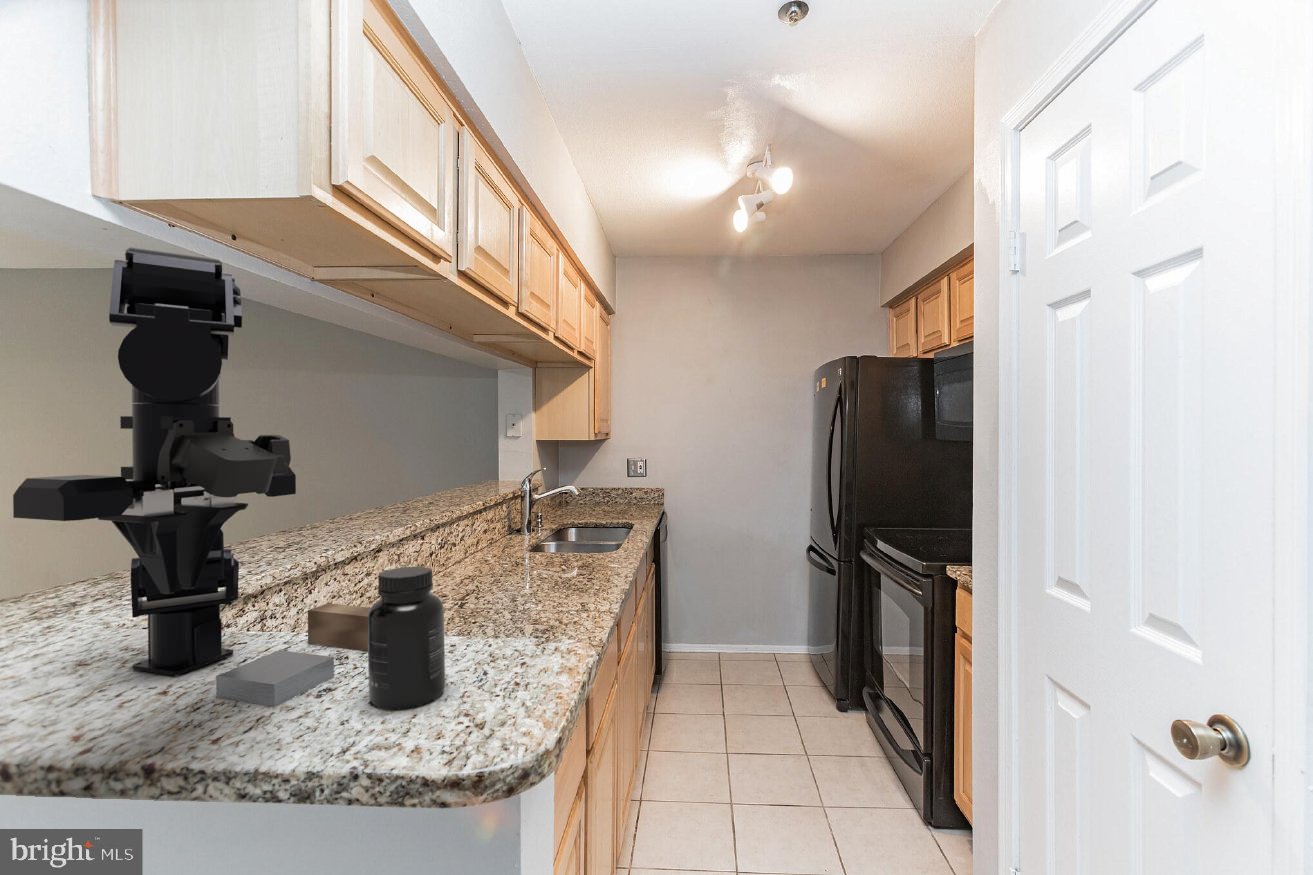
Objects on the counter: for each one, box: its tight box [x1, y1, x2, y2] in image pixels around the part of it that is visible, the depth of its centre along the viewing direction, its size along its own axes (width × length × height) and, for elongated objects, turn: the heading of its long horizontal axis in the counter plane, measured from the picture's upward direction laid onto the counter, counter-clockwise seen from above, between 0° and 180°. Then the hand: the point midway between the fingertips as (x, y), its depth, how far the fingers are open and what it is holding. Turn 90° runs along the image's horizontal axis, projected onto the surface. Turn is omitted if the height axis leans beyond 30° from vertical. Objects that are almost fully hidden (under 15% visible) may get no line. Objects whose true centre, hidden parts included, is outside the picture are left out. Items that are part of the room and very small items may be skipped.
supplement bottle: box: [367, 566, 446, 710], centre depth 58 cm, size 7×7×12 cm
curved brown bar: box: [307, 603, 371, 652], centre depth 72 cm, size 14×3×4 cm, turn 74°
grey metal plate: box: [215, 649, 335, 708], centre depth 60 cm, size 7×7×2 cm
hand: (178, 590), depth 51 cm, fingers closed
